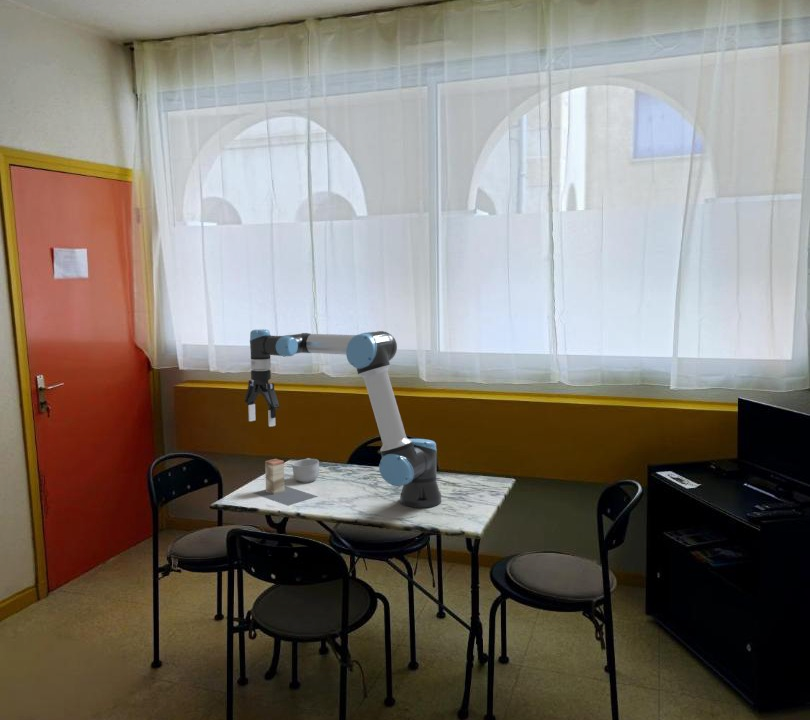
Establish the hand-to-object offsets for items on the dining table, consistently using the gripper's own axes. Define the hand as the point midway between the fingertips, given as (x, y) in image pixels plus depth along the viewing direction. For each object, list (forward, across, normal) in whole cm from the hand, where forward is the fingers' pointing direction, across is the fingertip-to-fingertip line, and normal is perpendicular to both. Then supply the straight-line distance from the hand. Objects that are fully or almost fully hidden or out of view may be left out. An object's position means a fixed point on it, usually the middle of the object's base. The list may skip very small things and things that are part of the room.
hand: (261, 423), depth 265 cm
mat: (+26, +15, -1) cm, 30 cm away
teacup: (+26, +5, +18) cm, 32 cm away
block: (+25, +9, -1) cm, 27 cm away
